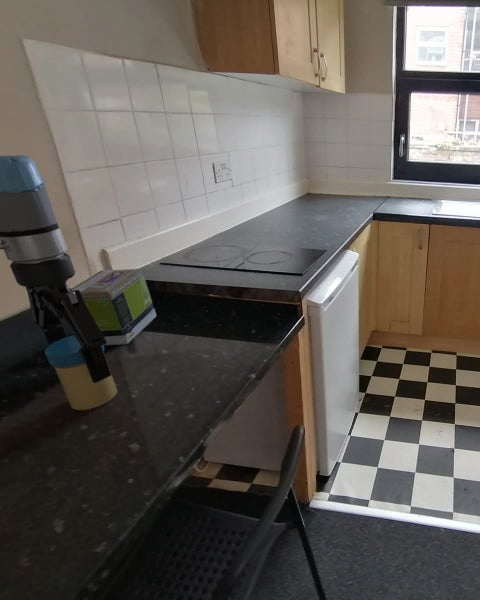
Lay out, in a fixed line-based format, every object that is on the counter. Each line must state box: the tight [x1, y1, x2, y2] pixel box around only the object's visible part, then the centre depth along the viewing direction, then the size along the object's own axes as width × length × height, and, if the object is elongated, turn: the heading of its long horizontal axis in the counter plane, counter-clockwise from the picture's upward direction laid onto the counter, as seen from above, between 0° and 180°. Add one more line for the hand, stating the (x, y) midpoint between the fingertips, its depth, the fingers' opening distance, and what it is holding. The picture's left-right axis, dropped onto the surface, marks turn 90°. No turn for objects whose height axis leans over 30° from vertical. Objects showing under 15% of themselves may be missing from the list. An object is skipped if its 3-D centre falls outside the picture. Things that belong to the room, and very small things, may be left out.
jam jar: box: [53, 350, 118, 411], centre depth 74 cm, size 7×7×11 cm
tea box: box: [71, 268, 157, 346], centre depth 96 cm, size 15×10×15 cm, turn 5°
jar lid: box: [44, 334, 106, 368], centre depth 72 cm, size 8×8×2 cm
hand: (83, 368), depth 74 cm, fingers open, 12 cm apart
